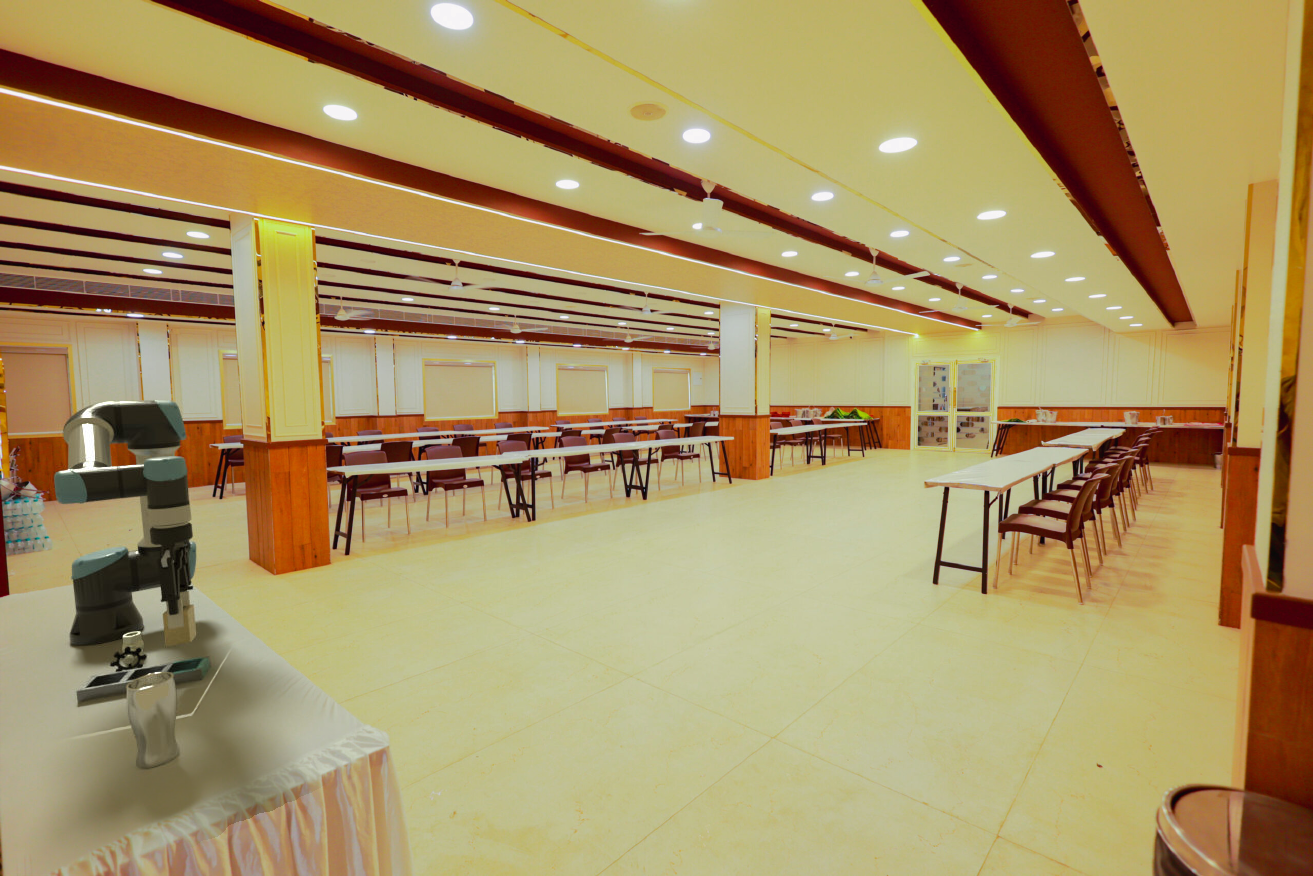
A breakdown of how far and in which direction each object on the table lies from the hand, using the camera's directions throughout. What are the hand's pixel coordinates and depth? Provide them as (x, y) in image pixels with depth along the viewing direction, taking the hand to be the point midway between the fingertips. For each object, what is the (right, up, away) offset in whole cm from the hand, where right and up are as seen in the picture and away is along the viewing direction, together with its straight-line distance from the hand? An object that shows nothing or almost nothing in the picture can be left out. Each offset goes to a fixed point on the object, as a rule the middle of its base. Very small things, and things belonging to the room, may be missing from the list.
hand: (180, 622), depth 138 cm
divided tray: (-6, -14, -1) cm, 15 cm away
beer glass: (+19, -16, -29) cm, 38 cm away
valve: (-19, -14, +9) cm, 25 cm away
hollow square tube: (0, -4, 0) cm, 4 cm away
